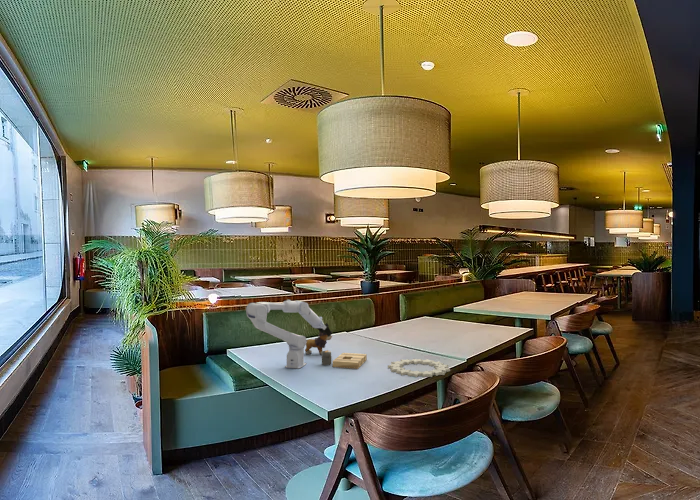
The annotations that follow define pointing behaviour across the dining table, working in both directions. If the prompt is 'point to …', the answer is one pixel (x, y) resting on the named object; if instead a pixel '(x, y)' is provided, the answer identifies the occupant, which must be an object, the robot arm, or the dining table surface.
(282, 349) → the dining table surface
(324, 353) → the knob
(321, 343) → the figurine
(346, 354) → the hub plate
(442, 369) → the decorative wreath
